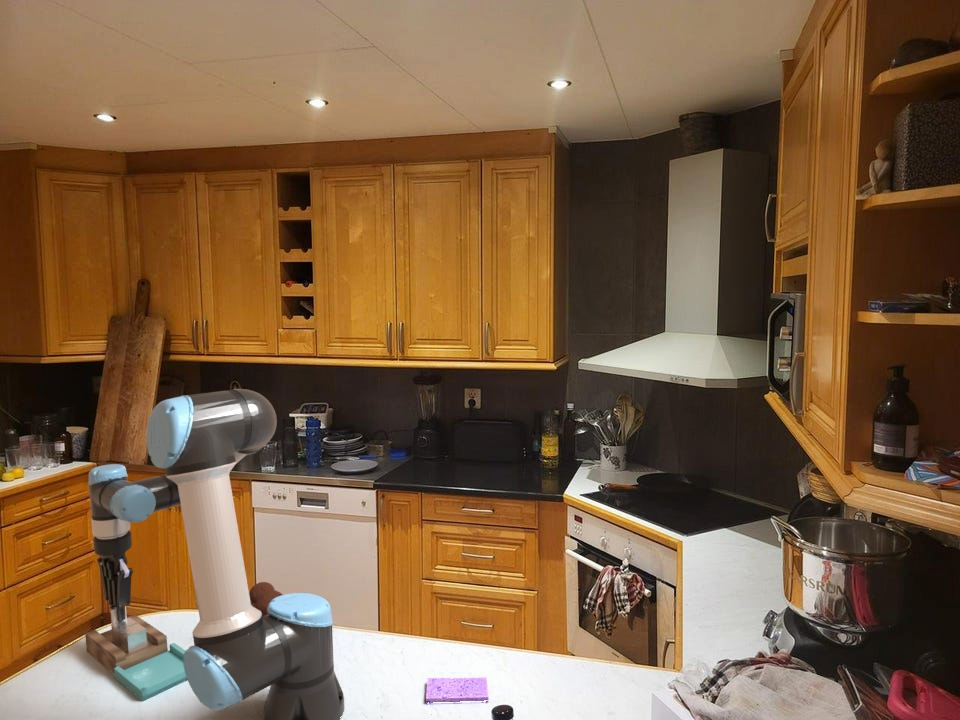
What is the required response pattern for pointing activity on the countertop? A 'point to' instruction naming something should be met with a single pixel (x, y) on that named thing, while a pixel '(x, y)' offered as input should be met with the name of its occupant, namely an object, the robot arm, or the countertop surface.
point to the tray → (154, 673)
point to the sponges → (456, 689)
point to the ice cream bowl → (262, 596)
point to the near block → (133, 638)
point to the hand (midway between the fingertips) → (120, 632)
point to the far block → (119, 626)
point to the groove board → (116, 656)
